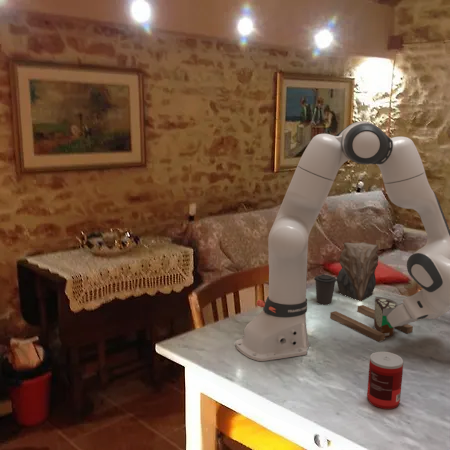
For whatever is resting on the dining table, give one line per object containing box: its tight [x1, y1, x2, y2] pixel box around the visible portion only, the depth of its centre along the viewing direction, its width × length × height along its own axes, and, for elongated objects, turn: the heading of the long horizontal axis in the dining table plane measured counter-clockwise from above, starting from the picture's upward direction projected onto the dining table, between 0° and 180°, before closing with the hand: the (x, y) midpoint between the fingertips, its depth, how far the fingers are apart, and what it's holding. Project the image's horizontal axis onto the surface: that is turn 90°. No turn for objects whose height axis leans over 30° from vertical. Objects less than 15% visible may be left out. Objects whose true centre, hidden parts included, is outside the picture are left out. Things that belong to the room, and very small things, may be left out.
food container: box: [373, 296, 399, 339], centre depth 165 cm, size 12×6×10 cm, turn 176°
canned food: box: [366, 351, 404, 410], centre depth 124 cm, size 8×8×11 cm
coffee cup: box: [313, 274, 337, 306], centre depth 192 cm, size 8×8×10 cm
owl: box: [336, 241, 379, 302], centre depth 200 cm, size 13×13×20 cm
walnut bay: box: [329, 304, 414, 343], centre depth 172 cm, size 15×22×2 cm
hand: (401, 323), depth 160 cm, fingers closed
